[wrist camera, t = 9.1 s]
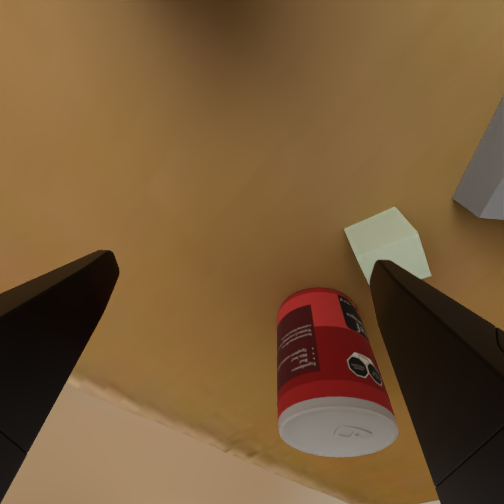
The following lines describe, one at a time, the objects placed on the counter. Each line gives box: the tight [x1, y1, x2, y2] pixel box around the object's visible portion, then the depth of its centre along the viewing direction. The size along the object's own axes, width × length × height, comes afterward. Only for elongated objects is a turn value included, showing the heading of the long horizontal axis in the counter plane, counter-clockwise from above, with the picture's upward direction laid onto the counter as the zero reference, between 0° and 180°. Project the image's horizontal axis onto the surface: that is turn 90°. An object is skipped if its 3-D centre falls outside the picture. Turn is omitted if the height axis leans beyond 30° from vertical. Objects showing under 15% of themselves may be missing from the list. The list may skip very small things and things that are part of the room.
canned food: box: [277, 288, 399, 457], centre depth 23 cm, size 8×8×11 cm
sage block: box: [344, 207, 431, 286], centre depth 20 cm, size 4×4×4 cm
